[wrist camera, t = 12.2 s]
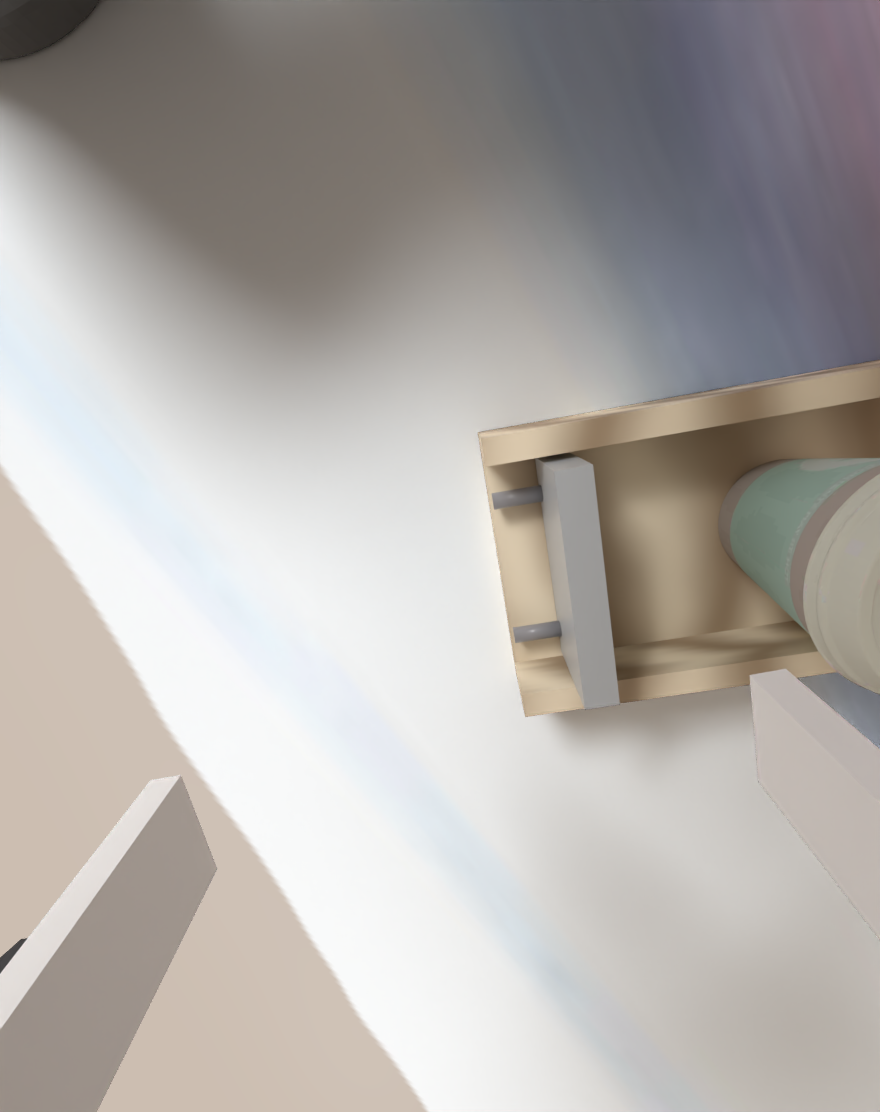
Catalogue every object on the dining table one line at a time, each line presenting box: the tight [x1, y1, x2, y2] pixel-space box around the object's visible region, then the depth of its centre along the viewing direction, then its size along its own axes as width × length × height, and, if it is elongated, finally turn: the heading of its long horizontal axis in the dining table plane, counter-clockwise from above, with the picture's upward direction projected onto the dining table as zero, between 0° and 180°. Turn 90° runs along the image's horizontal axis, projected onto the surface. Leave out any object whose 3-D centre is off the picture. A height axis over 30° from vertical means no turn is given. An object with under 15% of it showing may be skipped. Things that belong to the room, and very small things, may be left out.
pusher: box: [492, 452, 620, 710], centre depth 27 cm, size 4×10×6 cm, turn 10°
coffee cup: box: [718, 458, 880, 694], centre depth 23 cm, size 8×9×12 cm
